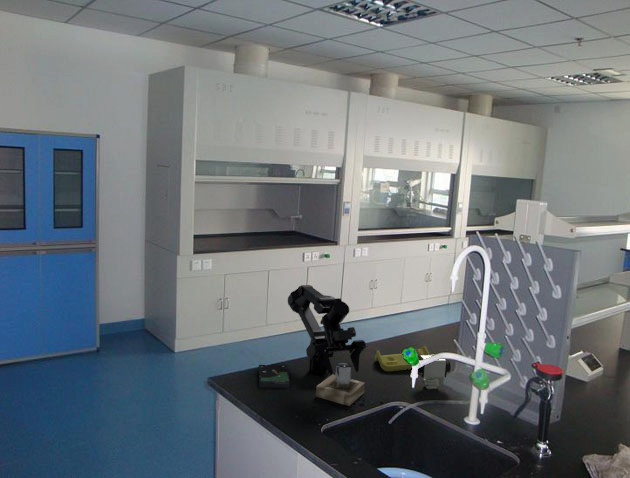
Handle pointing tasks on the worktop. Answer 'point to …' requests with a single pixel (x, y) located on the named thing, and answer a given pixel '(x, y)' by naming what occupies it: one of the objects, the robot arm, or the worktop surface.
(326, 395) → the square wooden tray
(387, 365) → the plastic component
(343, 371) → the bushing
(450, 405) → the worktop surface
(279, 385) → the disk drive
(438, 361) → the pneumatic valve
